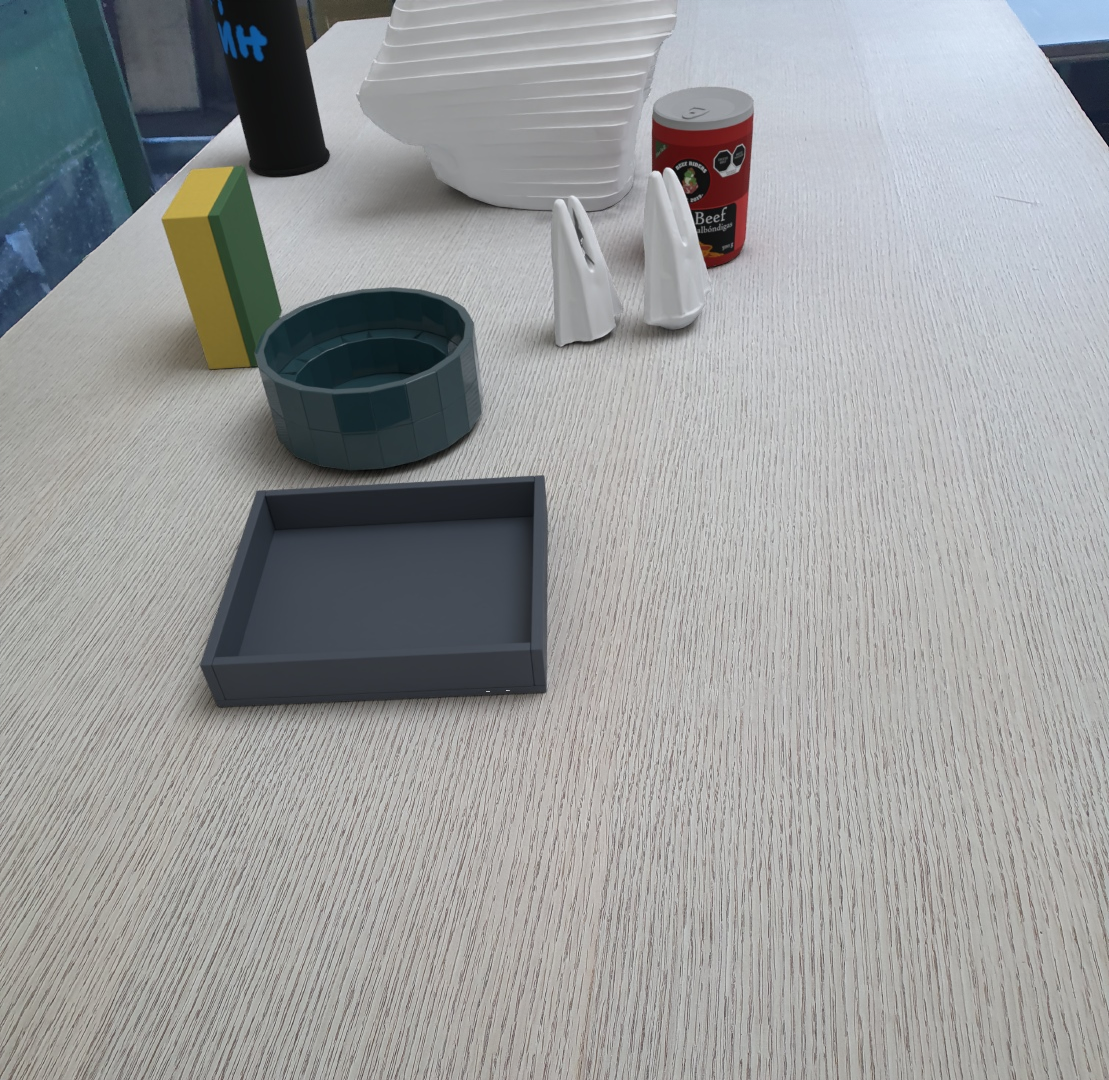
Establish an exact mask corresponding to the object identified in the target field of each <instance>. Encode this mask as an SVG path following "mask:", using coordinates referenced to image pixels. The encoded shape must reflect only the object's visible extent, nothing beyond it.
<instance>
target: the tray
mask: <svg viewBox="0 0 1109 1080" xmlns="http://www.w3.org/2000/svg"><path fill="white" fill-rule="evenodd" d="M545 477H546V476H545V475H544V474H540V475H521V476H506V477H505V476H502V477H500V476H499V477H485V478H484V477H483V478H463V479H448V480H429V481H428V480H427V481H410V482H409V481H408V482H394V483H392V482H391V483H379V484H378V483H374V484H373V483H371V484H356V485H355V484H354V485H337V486H336V485H335V486H319V487H317V486H316V487H301V488H300V487H299V488H283V489H282V488H281V489H267V490H266V489H261V490H256V491H255V495H254V498H253V501H252V504H251V507H250V509H249V513H248V516H247V519H246V521H245V522H246V523H245V525H244V528H243V531H242V535H241V538H240V539H239V544H238V547H237V550H236V553H235V556H234V560H233V561H232V565H231V569H230V571H229V575H228V578H227V580H226V584H225V587H224V590H223V593H222V596H221V599H220V603H219V604H218V605H219V606H218V609H217V611H216V614H215V617H214V621H213V623H212V626H211V630H210V632H209V636H208V639H207V642H206V645H205V648H204V651H203V654H202V657H201V661H200V663H199V667H200V669H201V672H202V675H203V677H204V679H205V682H206V684H207V686H208V688H209V691H210V693H211V697H212V698H213V700H214V704H215V705H216V708H225V707H226V708H227V707H247V706H248V707H249V706H271V705H272V706H273V705H291V704H293V705H295V704H314V703H317V704H319V703H336V702H337V703H338V702H339V703H340V702H360V701H382V700H403V699H405V700H406V699H426V698H427V699H428V698H448V697H470V696H492V695H493V696H495V695H514V694H534V693H535V694H536V693H537V694H538V693H547V692H548V575H549V573H548V572H549V571H548V569H549V568H548V562H549V561H548V559H549V557H548V556H549V553H548V551H549V550H548V549H549V547H548V545H549V542H548V541H549V540H548V539H549V513H548V500H547V488H546V478H545ZM506 690H510V691H506ZM486 691H490V692H486Z"/></svg>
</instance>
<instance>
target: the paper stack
mask: <svg viewBox="0 0 1109 1080" xmlns="http://www.w3.org/2000/svg"><path fill="white" fill-rule="evenodd" d="M677 13H678V0H395V2H394V3H393V6H392V10H391V14H390V19H389V20H388V22H387V27H386V31H385V35H384V36H385V37H384V39H383V40H382V44H381V46H380V48H379V50H378V53H377V54H376V57H375V58H373V60H372V62H371V65H370V68H369V70H368V71H369V72H368V74H367V75H366V77H364V79H363V81H362V83H361V85H360V88H359V91H357V92H356V93H355V96H356V99H357V101H358V105H359V107H360V109H361V111H362V114H363V115H364V116H365V117H366V118H368V119H369V120H370V121H371V122H372V123H373V125H375V126H376V127H378V128H379V129H380V130H382V131H383V132H384V133H386V134H387V135H389V136H390V137H392V138H393V139H395V140H397V141H399V142H401V143H402V144H405V145H409V146H415V147H422V150H423V151H424V153H425V156H426V157H427V158H428V159H429V163H430V166H431V169H432V172H433V174H434V175H435V178H436V179H437V180H439V181H440V182H442V183H443V184H446V185H447V186H449V187H451V188H453V189H455V190H456V191H459V192H461V193H463V194H464V195H465V196H467V197H469V198H471V199H474V200H477V201H480V202H482V203H485V204H488V205H491V206H496V207H499V208H500V207H501V208H510V209H519V210H530V211H531V210H533V211H534V210H535V211H552V210H553V204H554V202H555V201H556V200H557V199H562V200H564V202H565V204H566V206H567V209H568V198H569V197H570V196H575V197H576V198H577V199H578V200H579V201H580V203H581V204H582V206H583V208H584V210H585V211H586V212H596V211H602V210H606V209H608V208H610V207H613V206H615V205H616V204H618V203H619V202H621V200H622V199H624V198H625V196H626V195H628V194H629V192H630V191H631V188H632V186H633V182H634V176H635V175H634V174H635V164H636V163H635V162H636V145H637V136H638V132H639V131H638V130H639V124H640V121H641V117H642V113H643V109H644V106H645V103H646V102H647V100H648V99H649V97H650V95H651V94H652V93H651V91H652V89H653V88H652V84H653V81H654V74H655V71H656V65H657V61H658V56H659V53H660V51H661V48H662V46H663V44H664V41H666V40H667V39H669V38H670V37H672V35H674V32H673V31H674V30H675V28H676V24H677V17H678V16H677V15H675V14H677Z"/></svg>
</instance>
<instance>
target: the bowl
mask: <svg viewBox="0 0 1109 1080" xmlns="http://www.w3.org/2000/svg"><path fill="white" fill-rule="evenodd" d="M475 327H476V326H475V322H474V320H473V318H472V317H471V315H470V313H469V312H468V311H467V308H466V307H464V306H463V305H461V304H460V303H458V302H457V301H455V300H454V299H451V298H450V297H449V296H445V295H442V294H440V293H439V294H438V293H435V292H432V291H429V290H424V289H418V288H409V287H408V288H407V287H398V286H397V287H395V286H391V287H375V288H361V289H356V290H351V291H346V292H345V291H344V292H341V293H336V294H335V293H334V294H331V295H327V296H325V297H322V298H319V299H316V300H313V301H311V302H308V303H305V304H302V305H300V306H298V307H296V308H294V309H293V310H290V311H289V312H287V313H286V314H284V315H281V316H280V317H279V319H277V320H276V321H275V322H274V323H273V324H272V325H271V326H270V327H269V328H268V329H267V330H266V331H265V332H264V333H263V334H262V335H261V336H260V339H259V341H258V344H257V346H256V349H255V352H254V353H255V357H256V361H257V364H258V366H257V368H258V371H259V375H260V378H261V382H262V386H263V389H264V393H265V396H266V399H267V403H268V407H269V410H270V415H271V417H272V420H273V424H274V427H275V431H276V435H277V439H278V441H279V444H281V445H282V446H283V447H284V448H286V450H288V451H289V452H290V453H291V454H292V455H293V456H294V457H296V458H297V459H300V460H303V461H305V462H308V463H310V464H313V465H316V466H318V467H322V468H323V467H324V468H330V469H338V470H344V471H364V470H379V469H380V470H382V469H388V468H393V467H396V466H401V465H405V464H410V463H414V462H418V461H421V460H423V459H425V458H427V457H430V456H432V455H434V454H437V453H439V452H441V451H444V450H446V449H448V448H450V447H451V446H452V445H453V444H456V442H457V441H458V442H459V440H460V439H462V438H463V437H464V436H466V435H467V434H468V433H469V432H471V430H472V429H473V428H474V426H475V425H476V423H477V422H478V421H479V419H480V417H481V416H482V413H483V404H484V403H483V400H484V393H483V386H482V385H483V384H482V377H481V369H480V361H479V353H478V352H479V351H478V345H477V344H478V343H477V335H476V328H475Z"/></svg>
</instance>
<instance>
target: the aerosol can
mask: <svg viewBox="0 0 1109 1080" xmlns="http://www.w3.org/2000/svg"><path fill="white" fill-rule="evenodd" d="M209 1H210V5H211V9H212V14H213V17H214V20H215V21H214V22H215V24H216V29H217V33H218V37H219V40H220V41H219V42H220V45H221V48H222V53H223V57H224V61H225V64H226V69H227V73H228V76H229V80H230V85H231V89H232V92H233V96H234V100H235V105H236V108H237V113H238V116H239V119H240V124H241V128H242V132H243V136H244V140H245V144H246V148H247V152H248V156H249V161H248V166H249V168H250V170H251V171H253V172H254V173H255V174H258V175H260V176H261V175H262V176H266V177H288V176H295V175H300V174H305V173H308V172H310V171H314V170H316V169H318V168H320V167H322V166H324V164H326V162H328V161H329V159H330V156H331V153H330V150H329V149H328V147H326V142H325V137H324V133H323V127H322V122H321V117H320V112H319V107H318V102H317V96H316V91H315V88H314V82H313V78H312V77H313V76H312V73H311V67H310V63H309V58H308V53H307V48H306V43H305V37H304V31H303V28H302V24H301V18H300V13H299V7H298V2H297V0H209Z"/></svg>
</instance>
